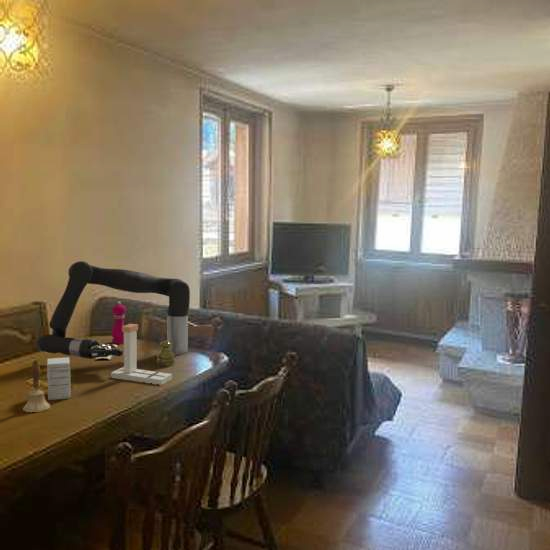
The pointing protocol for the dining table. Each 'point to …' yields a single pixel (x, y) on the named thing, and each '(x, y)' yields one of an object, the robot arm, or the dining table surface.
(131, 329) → the fader tab
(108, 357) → the newspaper
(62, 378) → the supplement box
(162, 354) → the brass knobbed piece
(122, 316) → the pepper mill
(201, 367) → the dining table surface
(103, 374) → the dining table surface
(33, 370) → the hand bell
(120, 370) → the white scale plate
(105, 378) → the dining table surface
